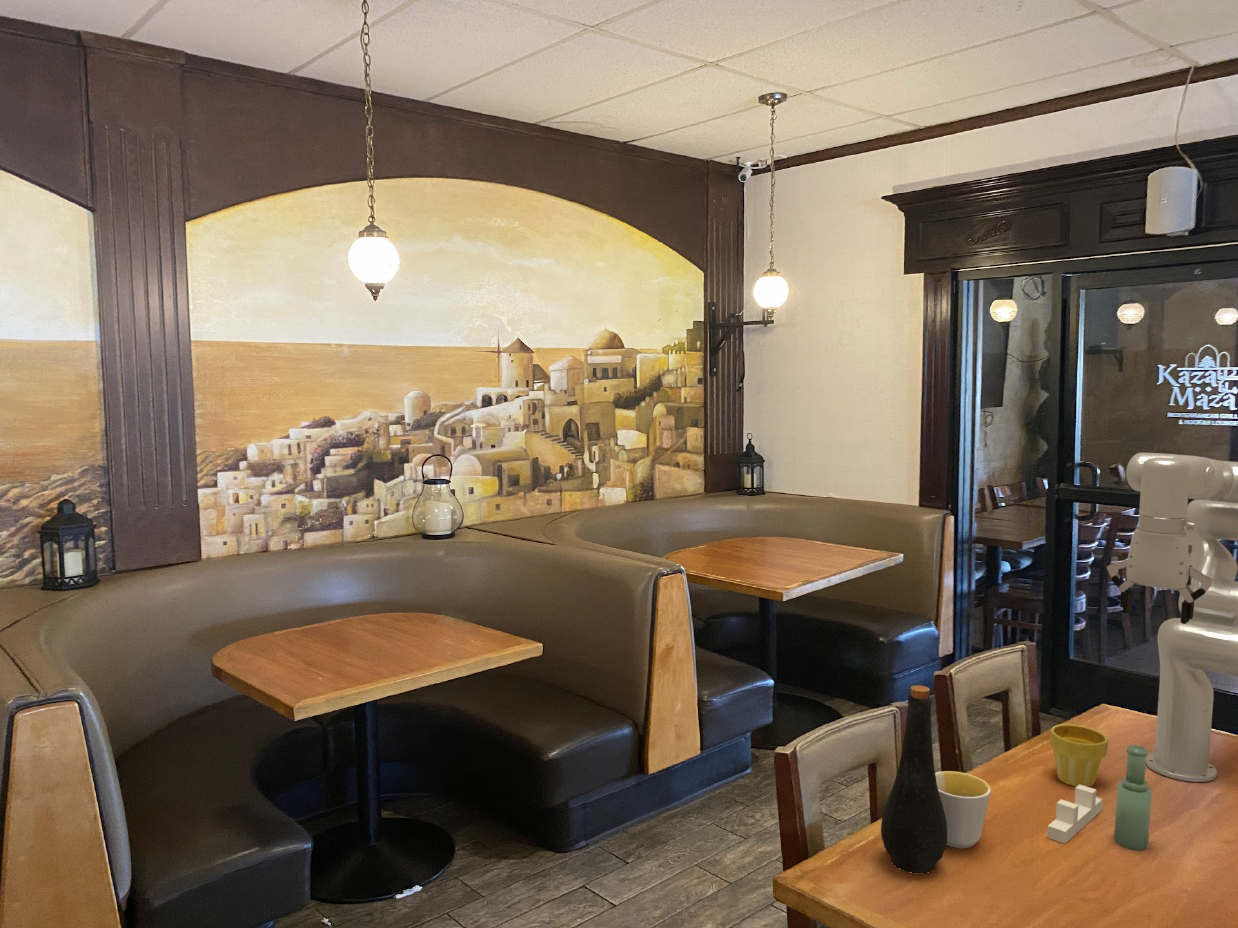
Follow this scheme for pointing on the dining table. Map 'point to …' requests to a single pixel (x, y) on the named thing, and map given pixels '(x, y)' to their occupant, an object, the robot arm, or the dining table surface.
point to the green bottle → (1133, 803)
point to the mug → (963, 806)
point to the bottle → (915, 796)
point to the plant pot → (1077, 753)
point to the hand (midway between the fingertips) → (1155, 617)
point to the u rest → (1074, 814)
